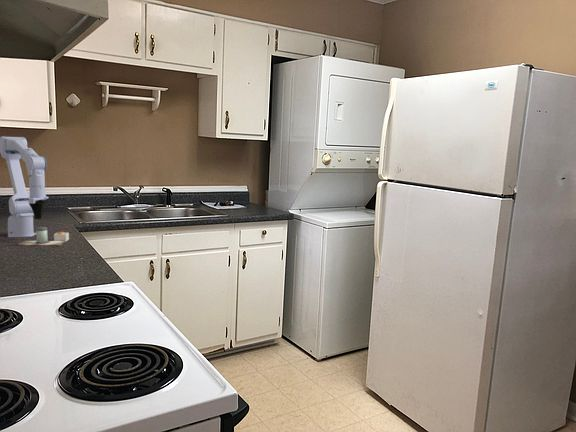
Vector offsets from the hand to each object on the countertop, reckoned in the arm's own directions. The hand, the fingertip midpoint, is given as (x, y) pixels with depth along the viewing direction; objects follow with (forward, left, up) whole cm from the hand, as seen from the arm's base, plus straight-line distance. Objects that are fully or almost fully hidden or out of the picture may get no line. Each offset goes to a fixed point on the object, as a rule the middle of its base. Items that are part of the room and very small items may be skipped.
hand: (38, 218), depth 200 cm
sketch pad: (+3, -5, -9) cm, 11 cm away
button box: (+9, +1, -9) cm, 13 cm away
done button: (+8, +1, -9) cm, 12 cm away
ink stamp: (+3, -5, -9) cm, 11 cm away
